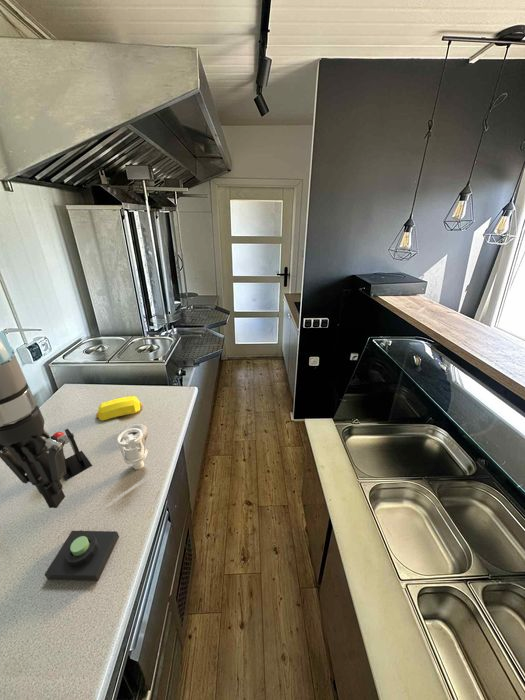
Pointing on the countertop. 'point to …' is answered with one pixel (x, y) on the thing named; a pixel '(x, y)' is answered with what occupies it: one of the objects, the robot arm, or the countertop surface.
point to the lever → (61, 436)
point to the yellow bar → (118, 407)
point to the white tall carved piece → (133, 448)
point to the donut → (139, 426)
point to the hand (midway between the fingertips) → (57, 501)
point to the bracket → (74, 459)
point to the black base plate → (83, 557)
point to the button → (79, 546)
